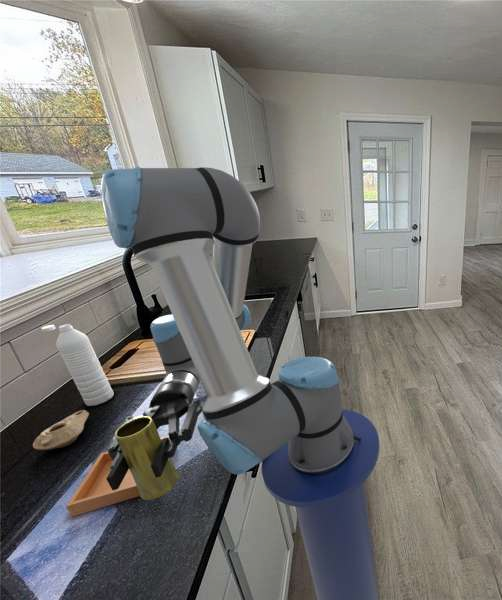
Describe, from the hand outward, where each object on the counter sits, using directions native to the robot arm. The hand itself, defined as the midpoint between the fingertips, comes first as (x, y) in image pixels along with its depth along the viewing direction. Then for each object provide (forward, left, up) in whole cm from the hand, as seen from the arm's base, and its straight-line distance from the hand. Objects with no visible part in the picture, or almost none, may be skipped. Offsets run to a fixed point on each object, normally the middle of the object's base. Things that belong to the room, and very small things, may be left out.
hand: (134, 477), depth 52 cm
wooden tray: (+11, -17, -14) cm, 25 cm away
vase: (0, -5, -8) cm, 10 cm away
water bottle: (+32, -54, -14) cm, 65 cm away
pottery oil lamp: (+30, -37, -14) cm, 50 cm away
